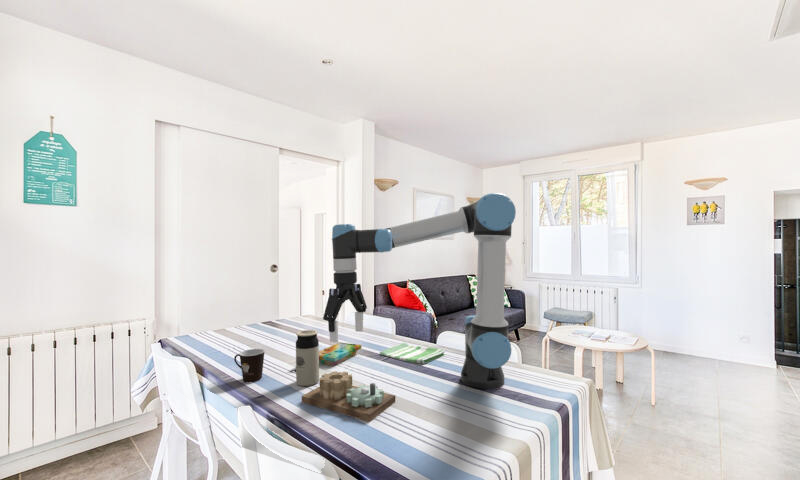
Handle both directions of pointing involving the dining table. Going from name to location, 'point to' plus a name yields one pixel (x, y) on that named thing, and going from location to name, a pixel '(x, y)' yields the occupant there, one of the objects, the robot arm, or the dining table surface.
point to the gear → (365, 395)
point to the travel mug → (307, 358)
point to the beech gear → (335, 385)
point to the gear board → (348, 405)
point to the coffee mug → (251, 364)
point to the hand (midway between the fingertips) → (347, 336)
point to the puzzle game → (338, 353)
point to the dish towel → (413, 353)
